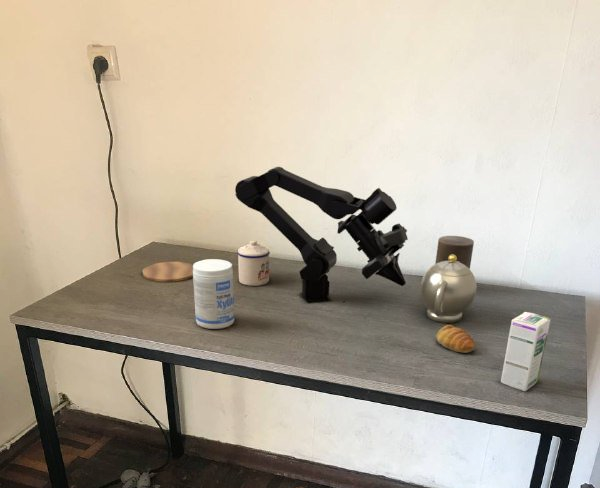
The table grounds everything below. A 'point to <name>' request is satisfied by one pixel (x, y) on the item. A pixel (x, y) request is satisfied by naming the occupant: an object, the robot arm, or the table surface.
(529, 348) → the syrup box
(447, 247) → the pillar candle
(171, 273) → the wooden trivet
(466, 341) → the pastry
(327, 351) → the table surface
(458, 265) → the teapot
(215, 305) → the supplement tub
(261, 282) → the teacup with lid
